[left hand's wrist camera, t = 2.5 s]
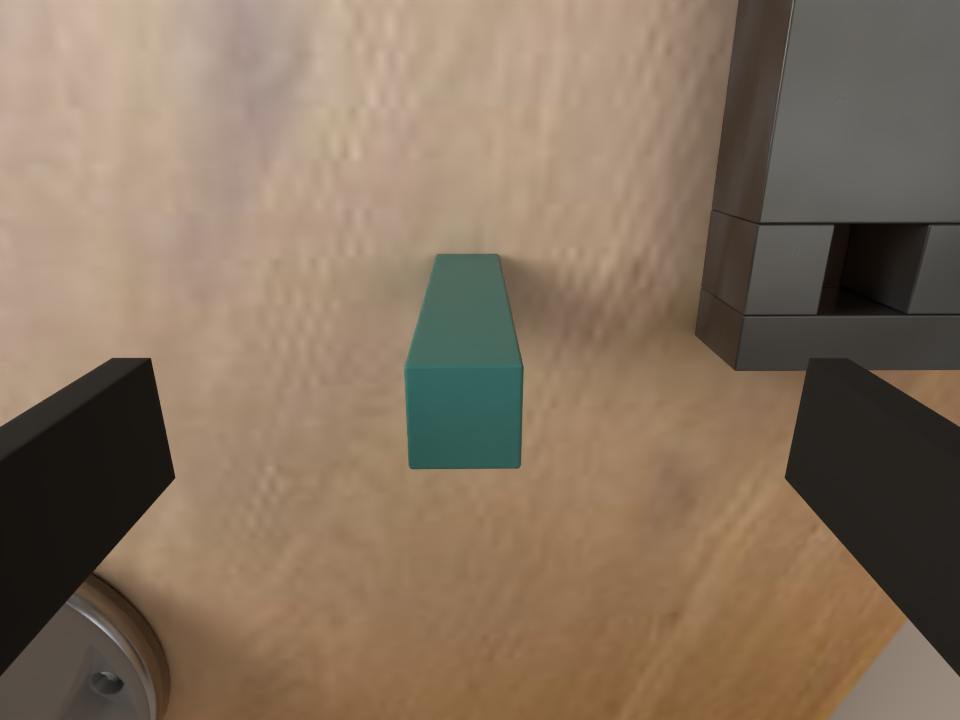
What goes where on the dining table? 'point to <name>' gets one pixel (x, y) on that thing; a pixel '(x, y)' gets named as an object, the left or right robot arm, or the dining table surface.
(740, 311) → the peg board
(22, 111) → the dining table surface
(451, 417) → the peg
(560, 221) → the dining table surface
